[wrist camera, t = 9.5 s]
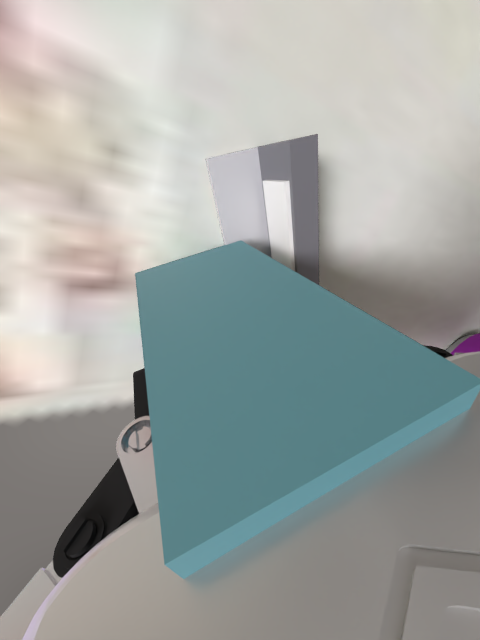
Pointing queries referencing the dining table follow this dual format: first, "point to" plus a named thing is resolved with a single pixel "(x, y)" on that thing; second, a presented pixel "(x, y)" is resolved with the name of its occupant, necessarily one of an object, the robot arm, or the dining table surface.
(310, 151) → the rail
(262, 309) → the tea box
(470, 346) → the beverage can
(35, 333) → the dining table surface
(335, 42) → the dining table surface
